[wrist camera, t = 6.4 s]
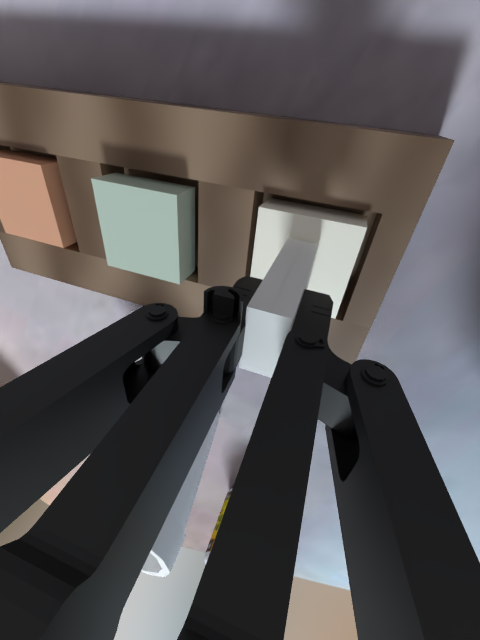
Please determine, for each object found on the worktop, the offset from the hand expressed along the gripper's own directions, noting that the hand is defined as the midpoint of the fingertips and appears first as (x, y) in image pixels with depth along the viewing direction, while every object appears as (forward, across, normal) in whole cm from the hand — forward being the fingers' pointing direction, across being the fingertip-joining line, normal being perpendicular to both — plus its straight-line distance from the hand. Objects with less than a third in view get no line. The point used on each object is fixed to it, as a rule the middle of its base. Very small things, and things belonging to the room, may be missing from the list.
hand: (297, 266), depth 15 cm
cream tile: (+2, 0, 0) cm, 2 cm away
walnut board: (+4, +9, 0) cm, 10 cm away
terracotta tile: (+2, +18, 0) cm, 18 cm away
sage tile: (+2, +9, 0) cm, 9 cm away
